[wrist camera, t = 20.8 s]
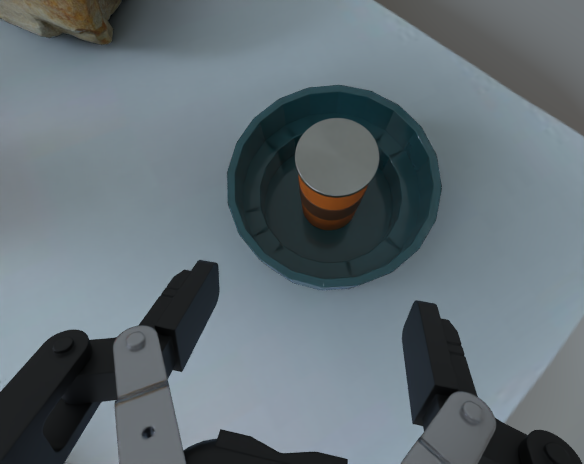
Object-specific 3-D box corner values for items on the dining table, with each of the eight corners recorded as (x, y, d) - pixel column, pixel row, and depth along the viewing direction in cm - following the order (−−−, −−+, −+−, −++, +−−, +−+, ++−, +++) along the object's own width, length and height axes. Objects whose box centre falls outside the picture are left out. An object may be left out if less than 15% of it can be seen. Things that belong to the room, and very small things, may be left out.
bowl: (212, 196, 31) (186, 168, 25) (336, 99, 32) (342, 49, 26) (317, 327, 28) (319, 334, 22) (449, 214, 29) (487, 190, 23)
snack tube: (289, 201, 30) (277, 151, 20) (331, 167, 30) (340, 102, 20) (325, 243, 29) (332, 213, 19) (369, 207, 29) (397, 159, 19)
